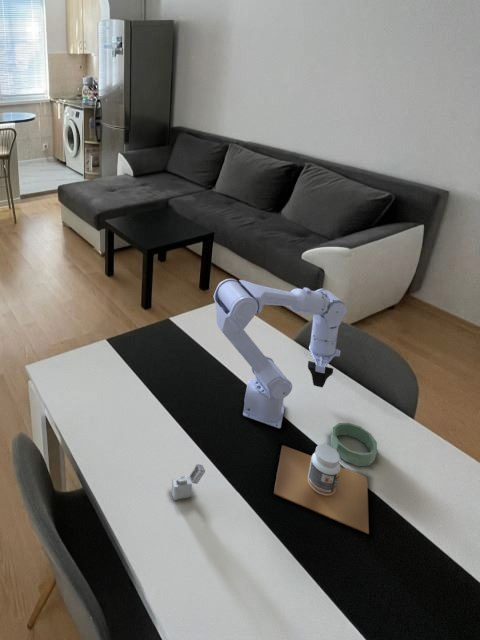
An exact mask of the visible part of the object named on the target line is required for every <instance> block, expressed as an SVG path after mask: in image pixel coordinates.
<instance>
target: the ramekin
mask: <svg viewBox="0 0 480 640" xmlns="http://www.w3.org/2000/svg"><path fill="white" fill-rule="evenodd" d="M330 435H331V436H330V445H329V446H331V447H333V448H334V449H335V450H336V451H337V452H338V453H339V456H340V459H342V460H343V461H344V462H346V463H349V464H351V465H354V466H357V467H367V466H370V465H371V464H372V463H373V462H374V461H375V460H376V456H377V453H378V442H377V440H376V439H375V438H374V436H373V435H372V433H370V432H369V431H368V430H366V429H365V428H363V427H362V426H360V425H357V424H354V423H351V422H338V423H337V424H335V425H334V426H333V427H332V430H331V434H330ZM338 436H349V437H351V438H355V439H357V440H359V441H360V442H361V443H363V444H364V445H365V446H366V447H367V449H368V450H369V451H370V452H358V451H355V450H352V449H349V448H348V447H347V446H345V444H343V443H341V442H340V440H339V439H338Z"/></svg>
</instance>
